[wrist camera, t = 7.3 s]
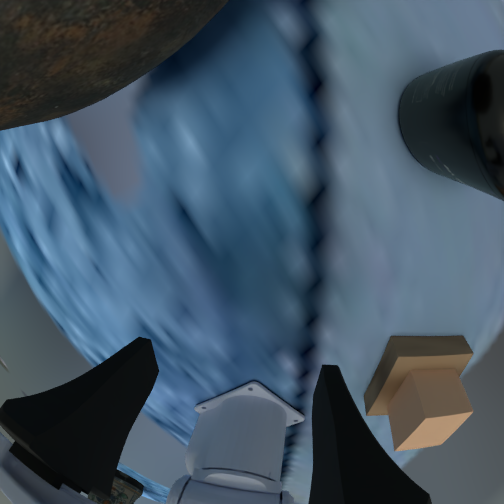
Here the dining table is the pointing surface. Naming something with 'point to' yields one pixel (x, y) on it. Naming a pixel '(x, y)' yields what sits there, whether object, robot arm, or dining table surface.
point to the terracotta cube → (427, 408)
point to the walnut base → (412, 365)
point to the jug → (85, 50)
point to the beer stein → (121, 490)
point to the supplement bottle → (459, 121)
